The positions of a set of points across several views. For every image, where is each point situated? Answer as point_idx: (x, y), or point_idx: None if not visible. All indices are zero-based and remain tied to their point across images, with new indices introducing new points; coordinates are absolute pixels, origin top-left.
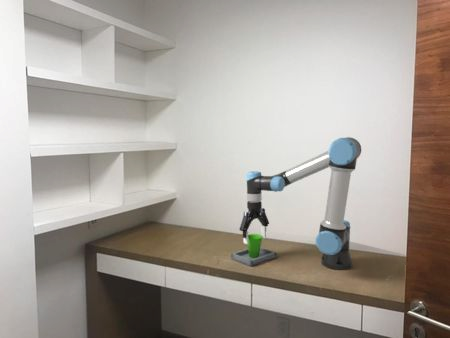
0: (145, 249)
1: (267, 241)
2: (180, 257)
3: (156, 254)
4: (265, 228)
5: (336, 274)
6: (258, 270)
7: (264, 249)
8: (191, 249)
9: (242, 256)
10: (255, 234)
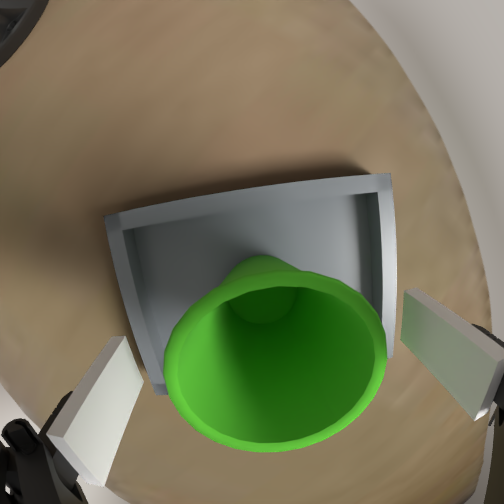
0: (458, 476)
1: None
2: (468, 418)
3: (475, 447)
4: (63, 414)
5: None
6: (365, 107)
7: (143, 316)
8: (395, 472)
9: None
10: (205, 429)
